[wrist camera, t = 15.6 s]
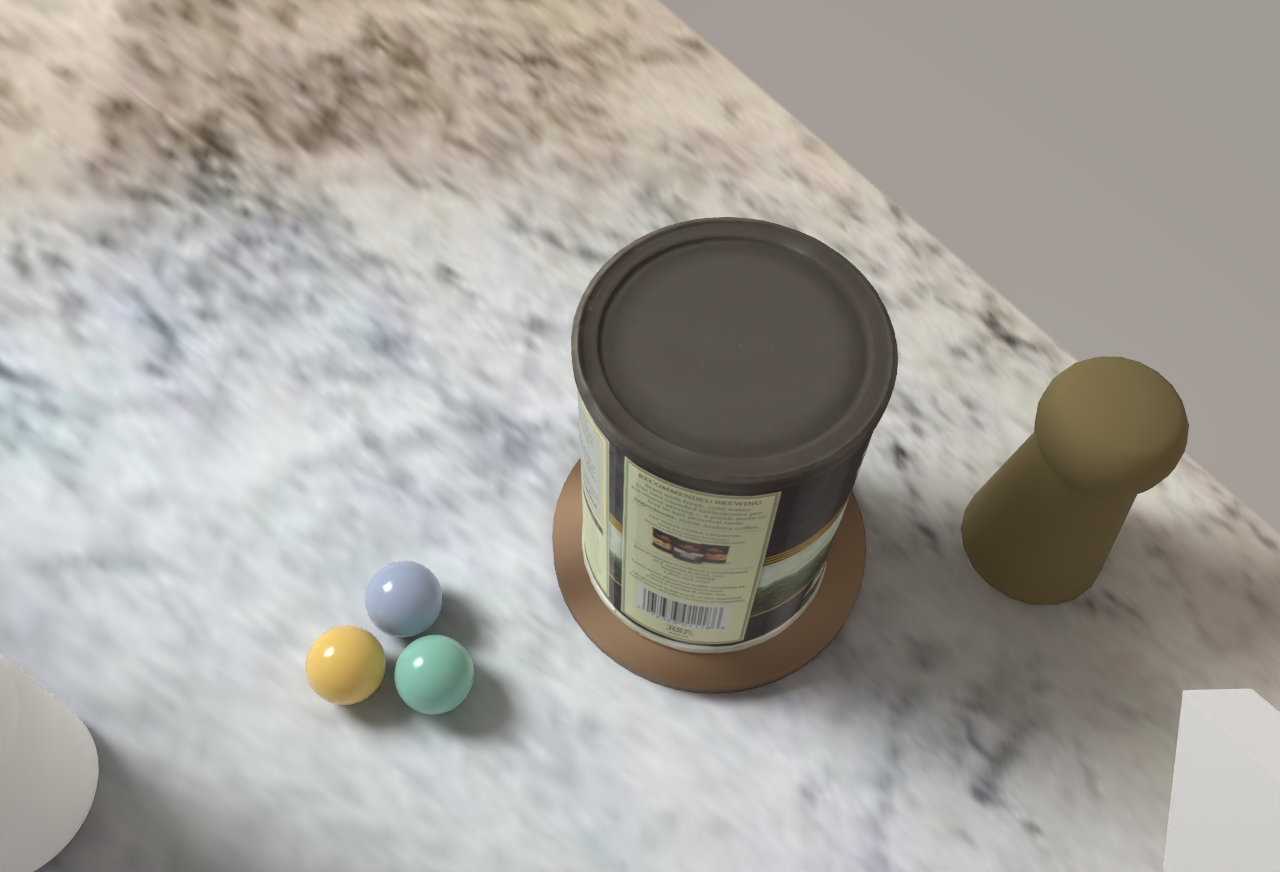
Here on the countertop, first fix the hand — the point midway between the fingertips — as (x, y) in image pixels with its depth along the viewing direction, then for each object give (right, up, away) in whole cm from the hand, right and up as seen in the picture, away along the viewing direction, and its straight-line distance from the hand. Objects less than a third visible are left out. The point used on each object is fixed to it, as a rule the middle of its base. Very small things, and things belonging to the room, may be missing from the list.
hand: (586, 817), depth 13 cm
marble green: (-7, -6, +34) cm, 36 cm away
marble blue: (-9, -3, +36) cm, 37 cm away
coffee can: (+3, 0, +37) cm, 37 cm away
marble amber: (-11, -5, +35) cm, 37 cm away
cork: (+17, 0, +39) cm, 42 cm away
